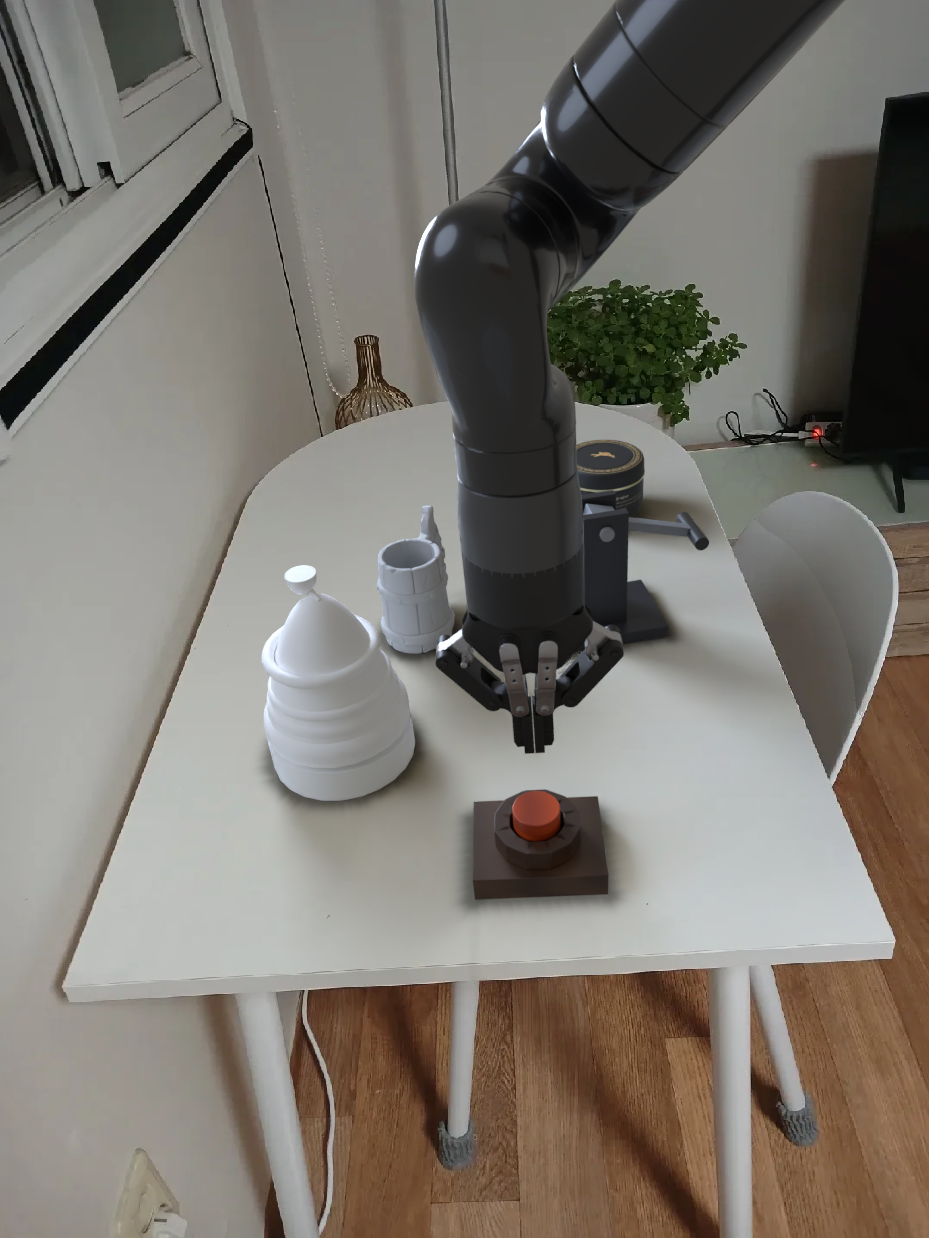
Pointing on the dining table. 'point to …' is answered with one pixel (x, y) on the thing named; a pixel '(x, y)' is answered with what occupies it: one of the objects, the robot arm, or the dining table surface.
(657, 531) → the switch lever
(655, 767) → the dining table surface
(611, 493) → the dark stand
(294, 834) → the dining table surface
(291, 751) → the honey pot
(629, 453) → the jar
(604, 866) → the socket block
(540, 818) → the button
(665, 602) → the dining table surface
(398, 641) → the mug
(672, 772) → the dining table surface
